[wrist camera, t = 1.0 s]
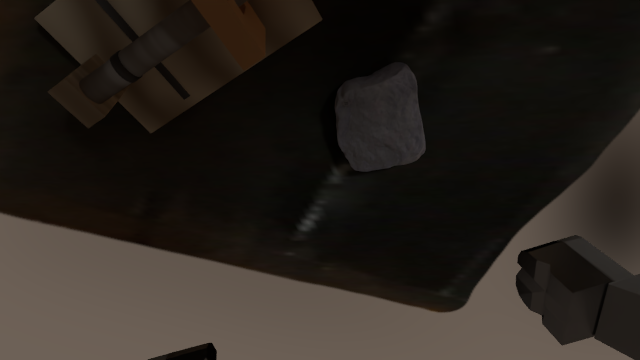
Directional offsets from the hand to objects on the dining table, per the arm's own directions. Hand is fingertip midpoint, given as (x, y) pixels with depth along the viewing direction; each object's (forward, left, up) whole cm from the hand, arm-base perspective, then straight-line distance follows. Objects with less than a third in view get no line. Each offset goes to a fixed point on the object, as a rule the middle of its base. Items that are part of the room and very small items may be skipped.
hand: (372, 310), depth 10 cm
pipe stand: (+8, -6, -35) cm, 36 cm away
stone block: (-2, +14, -35) cm, 38 cm away
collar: (+3, -6, -32) cm, 33 cm away
